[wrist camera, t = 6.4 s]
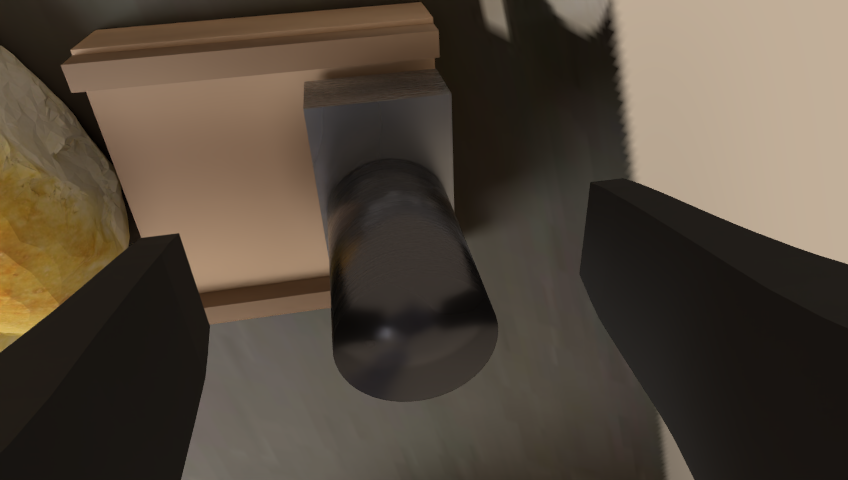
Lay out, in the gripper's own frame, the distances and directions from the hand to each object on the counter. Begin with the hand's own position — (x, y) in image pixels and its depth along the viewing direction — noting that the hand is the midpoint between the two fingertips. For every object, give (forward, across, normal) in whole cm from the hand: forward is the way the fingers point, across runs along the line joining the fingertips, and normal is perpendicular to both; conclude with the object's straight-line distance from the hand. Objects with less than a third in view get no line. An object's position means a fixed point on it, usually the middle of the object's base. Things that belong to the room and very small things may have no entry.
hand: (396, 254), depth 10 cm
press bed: (+5, +2, 0) cm, 5 cm away
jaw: (+3, 0, 0) cm, 3 cm away
